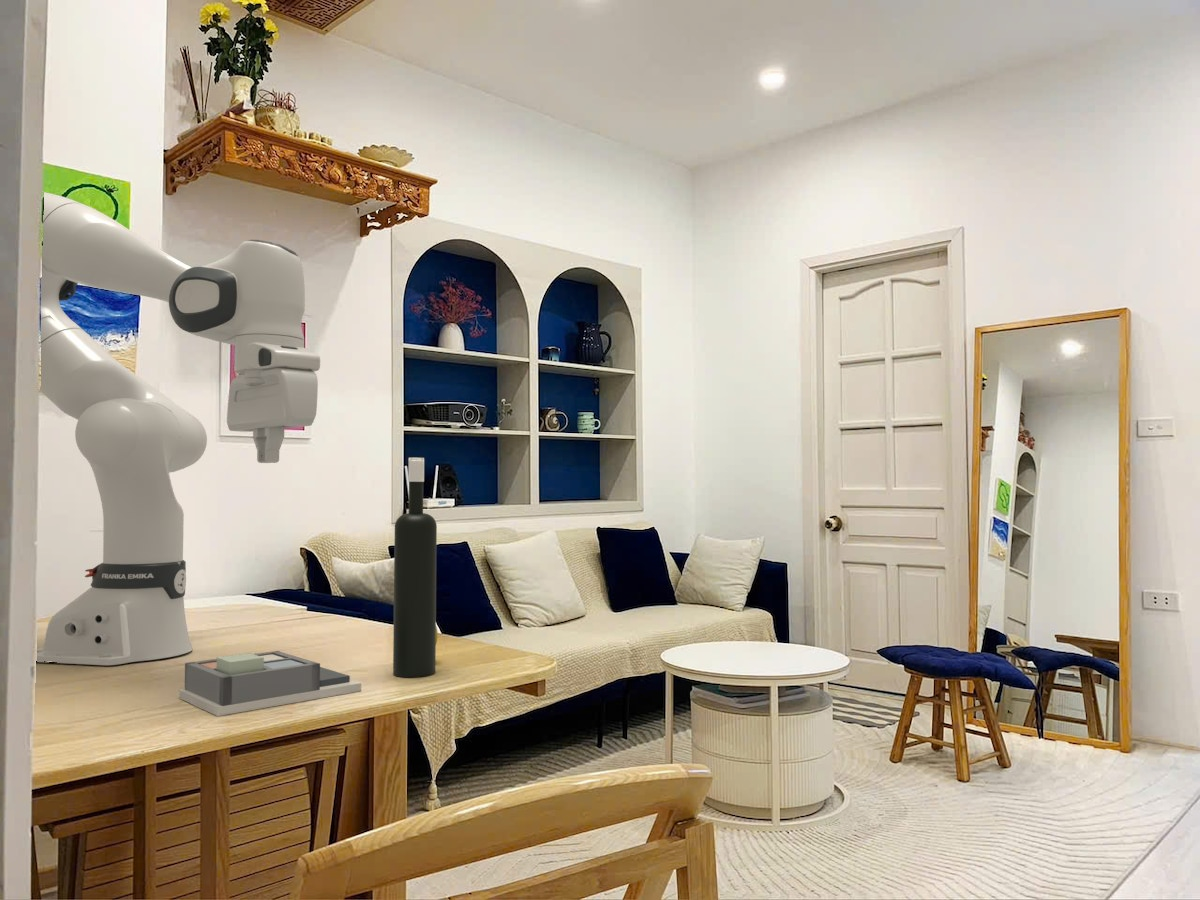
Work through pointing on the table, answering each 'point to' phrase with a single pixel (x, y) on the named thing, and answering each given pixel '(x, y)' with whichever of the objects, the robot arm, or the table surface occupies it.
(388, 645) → the table surface
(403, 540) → the wine bottle
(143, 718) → the table surface
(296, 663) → the key slate
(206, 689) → the keypad
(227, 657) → the key sage
